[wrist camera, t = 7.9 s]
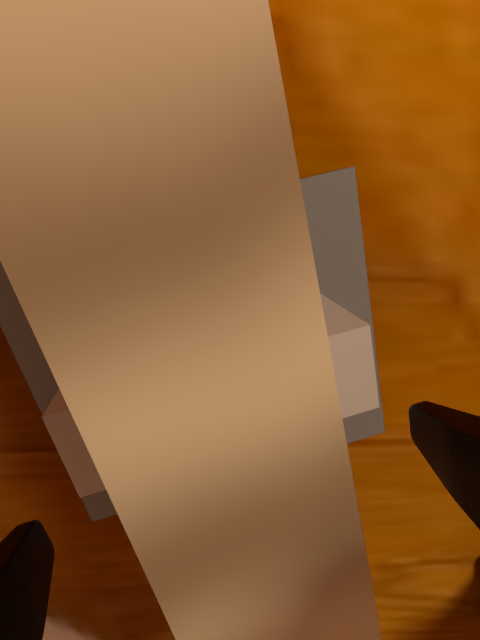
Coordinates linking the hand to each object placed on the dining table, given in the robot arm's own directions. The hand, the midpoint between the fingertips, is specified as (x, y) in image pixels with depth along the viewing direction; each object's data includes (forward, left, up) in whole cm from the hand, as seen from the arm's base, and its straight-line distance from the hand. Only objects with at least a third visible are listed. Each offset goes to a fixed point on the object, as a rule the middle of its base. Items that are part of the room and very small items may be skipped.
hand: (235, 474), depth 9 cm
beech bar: (0, 0, -3) cm, 3 cm away
